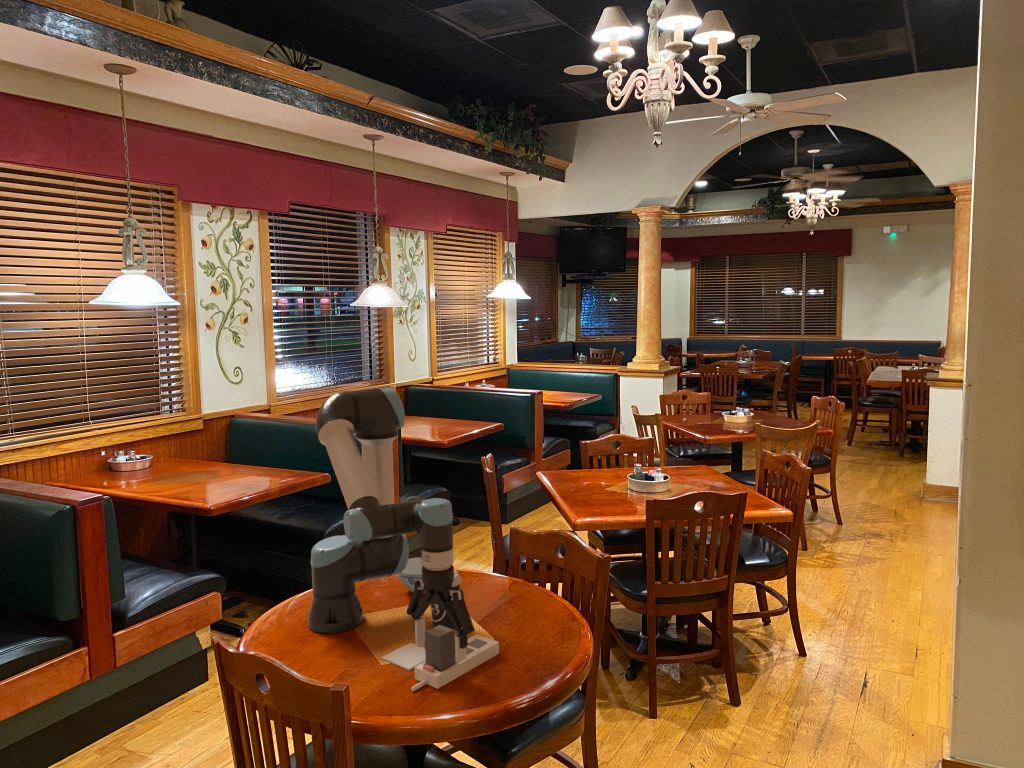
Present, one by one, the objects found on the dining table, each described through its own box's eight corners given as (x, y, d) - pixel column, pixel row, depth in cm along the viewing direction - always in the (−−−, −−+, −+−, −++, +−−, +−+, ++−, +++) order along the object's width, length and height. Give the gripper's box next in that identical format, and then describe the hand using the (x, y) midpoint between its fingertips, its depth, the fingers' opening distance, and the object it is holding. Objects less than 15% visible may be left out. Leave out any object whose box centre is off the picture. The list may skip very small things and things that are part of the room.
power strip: (423, 697, 172) (422, 681, 172) (400, 686, 177) (400, 671, 176) (499, 653, 193) (498, 639, 192) (476, 645, 197) (476, 631, 197)
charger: (425, 668, 181) (424, 631, 180) (440, 660, 185) (439, 624, 184) (441, 674, 178) (439, 637, 177) (455, 666, 182) (454, 629, 181)
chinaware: (397, 601, 227) (397, 576, 226) (395, 583, 242) (394, 559, 241) (448, 596, 230) (447, 571, 229) (442, 578, 245) (441, 555, 244)
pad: (381, 658, 191) (381, 657, 191) (410, 644, 199) (410, 642, 198) (408, 670, 185) (408, 668, 184) (437, 655, 192) (437, 653, 192)
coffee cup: (457, 636, 203) (456, 581, 201) (423, 633, 205) (421, 579, 203) (466, 621, 212) (465, 568, 211) (433, 618, 214) (432, 567, 212)
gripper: (389, 559, 184) (393, 643, 186) (465, 581, 168) (468, 673, 170) (412, 551, 189) (415, 633, 192) (488, 571, 174) (490, 660, 176)
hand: (440, 652), depth 181 cm, fingers open, 13 cm apart
